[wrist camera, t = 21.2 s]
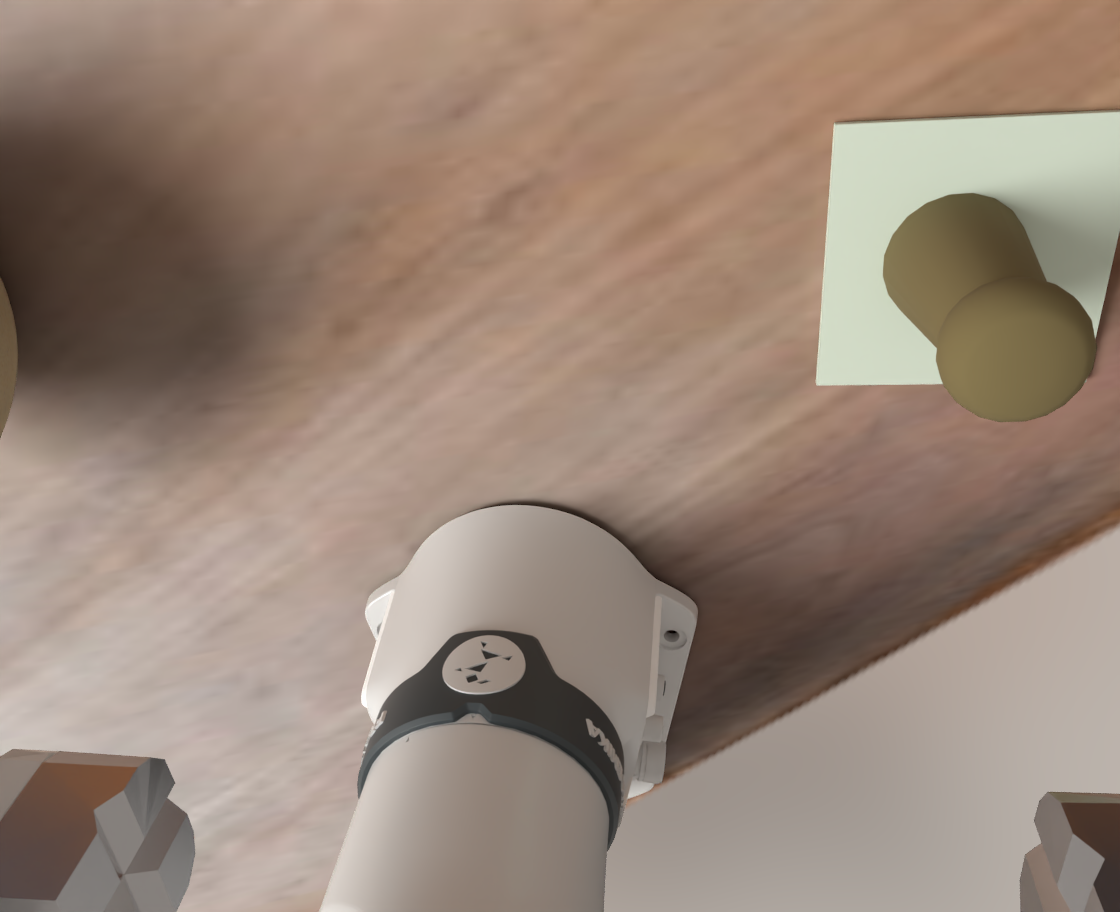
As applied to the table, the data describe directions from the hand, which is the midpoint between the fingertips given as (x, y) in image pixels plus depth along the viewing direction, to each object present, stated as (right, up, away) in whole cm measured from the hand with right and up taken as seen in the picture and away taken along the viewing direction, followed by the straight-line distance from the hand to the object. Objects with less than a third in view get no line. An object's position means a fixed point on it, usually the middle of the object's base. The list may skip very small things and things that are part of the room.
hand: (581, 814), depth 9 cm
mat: (+17, +12, +34) cm, 40 cm away
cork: (+17, +12, +34) cm, 40 cm away
